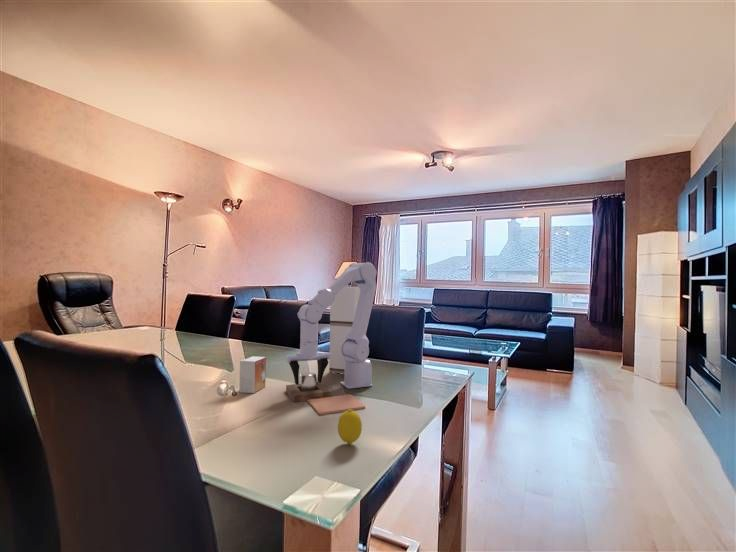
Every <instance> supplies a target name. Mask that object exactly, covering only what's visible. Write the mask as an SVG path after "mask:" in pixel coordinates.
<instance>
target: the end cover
mask: <svg viewBox="0 0 736 552" xmlns="http://www.w3.org/2000/svg"><path fill="white" fill-rule="evenodd" d="M316 382H317V374H316V373H315V372H304V373H303V372H302V373H301V374H300V384H301V392H305V391H314V390H316Z"/></svg>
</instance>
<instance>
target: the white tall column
mask: <svg viewBox="0 0 736 552" xmlns="http://www.w3.org/2000/svg"><path fill="white" fill-rule="evenodd" d="M359 295H360V288H359V287H358V286H345V287H344V288H343V289H342V290H341V291H340V292H339V293H337V294H336V295H335V301H334V302H333V303H332V304H331V305H330V306H329V308H330V310H329V311H330V313H329V353H330V354H331V359H329V360H328V366H329V371H328V372H334V373H333V374H335V373H343V374H342V375H344V369H345V359H344V356H343V354H342V353H341V346H342V344H343V342H344V341H345V338H346V336H347V335H348V334H349V333H350V332H351V329H352V325H353V321H354V316H355V312H356V308H357V304H358V299H359ZM356 342H357V341H356Z"/></svg>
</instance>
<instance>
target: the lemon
mask: <svg viewBox="0 0 736 552" xmlns="http://www.w3.org/2000/svg"><path fill="white" fill-rule="evenodd" d="M337 421H338V422H337V434H338V436H339V438H340V439H341V441H343V442H345V443H346V444H347V445H352V444H353V443H355V442H357V440H358V439H360V437H361V434H362V430H363V425H362V419H361V417H360V414H359V413H357V412H356V411H355V410H351V409H349V410H348V411H343V412H341V414H340V416H339V418H338V420H337Z"/></svg>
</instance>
